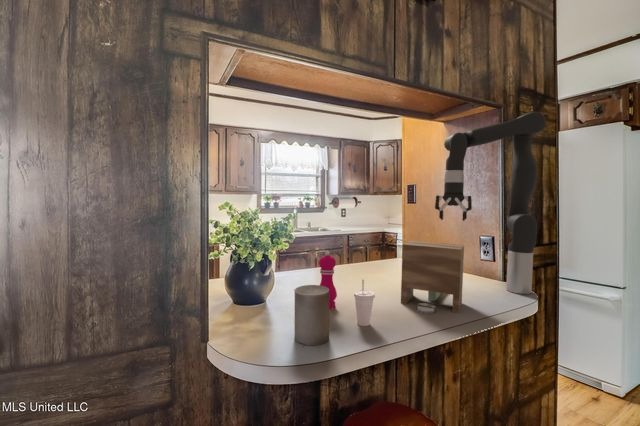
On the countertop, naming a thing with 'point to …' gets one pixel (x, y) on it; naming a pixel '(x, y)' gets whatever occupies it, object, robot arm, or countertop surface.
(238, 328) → the countertop surface
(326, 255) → the pepper mill
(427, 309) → the steel puck
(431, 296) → the sage stick
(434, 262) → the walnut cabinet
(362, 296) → the smoothie
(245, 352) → the countertop surface
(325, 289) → the pillar candle
